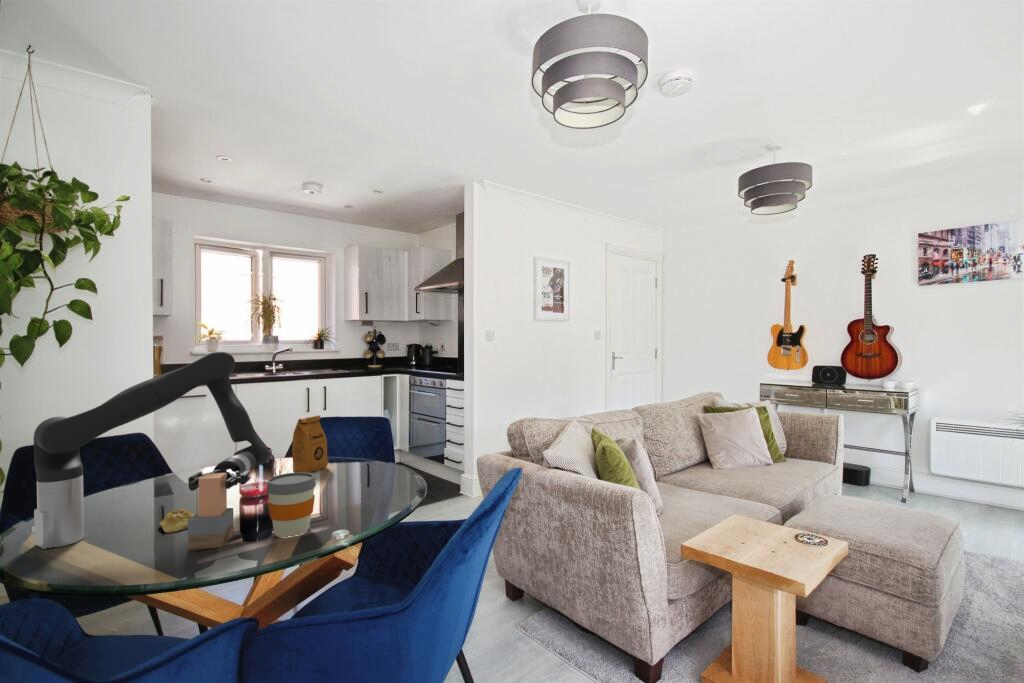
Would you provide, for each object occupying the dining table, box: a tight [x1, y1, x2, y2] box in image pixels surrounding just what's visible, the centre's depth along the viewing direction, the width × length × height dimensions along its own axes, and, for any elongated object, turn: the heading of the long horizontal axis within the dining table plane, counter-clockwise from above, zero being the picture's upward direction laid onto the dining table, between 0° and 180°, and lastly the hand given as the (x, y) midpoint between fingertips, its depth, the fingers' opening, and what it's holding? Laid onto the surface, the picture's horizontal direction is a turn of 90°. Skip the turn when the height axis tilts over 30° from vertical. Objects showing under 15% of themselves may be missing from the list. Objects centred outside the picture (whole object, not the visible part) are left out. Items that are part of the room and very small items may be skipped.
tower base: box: [187, 522, 235, 551], centre depth 134 cm, size 8×8×4 cm
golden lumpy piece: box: [158, 508, 195, 534], centre depth 146 cm, size 11×6×10 cm
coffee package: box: [291, 414, 328, 473], centre depth 205 cm, size 10×12×22 cm
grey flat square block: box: [187, 507, 235, 537], centre depth 134 cm, size 8×8×4 cm
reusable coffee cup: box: [266, 472, 316, 537], centre depth 141 cm, size 13×13×15 cm
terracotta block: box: [198, 473, 228, 517], centre depth 134 cm, size 5×5×10 cm
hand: (209, 486), depth 132 cm, fingers open, 8 cm apart
